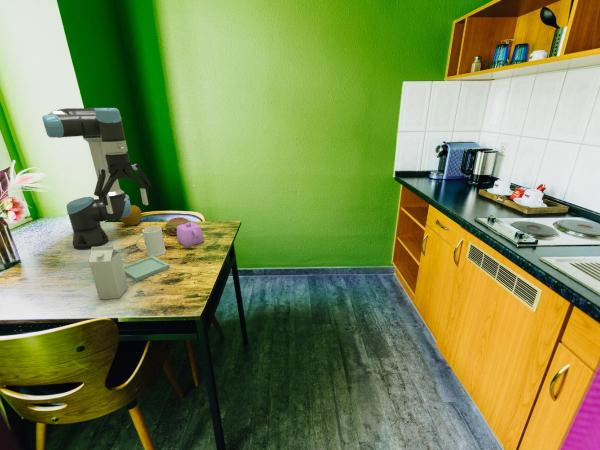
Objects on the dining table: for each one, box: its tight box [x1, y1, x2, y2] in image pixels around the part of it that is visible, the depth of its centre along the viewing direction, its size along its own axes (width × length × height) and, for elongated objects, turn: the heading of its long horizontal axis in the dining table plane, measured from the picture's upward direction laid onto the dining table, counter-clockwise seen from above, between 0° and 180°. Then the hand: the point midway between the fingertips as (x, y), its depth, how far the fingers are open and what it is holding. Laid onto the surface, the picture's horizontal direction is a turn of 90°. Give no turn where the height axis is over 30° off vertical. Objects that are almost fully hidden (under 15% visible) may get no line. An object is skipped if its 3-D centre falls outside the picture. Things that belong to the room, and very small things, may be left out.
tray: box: [123, 256, 171, 283], centre depth 128 cm, size 14×14×2 cm
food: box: [164, 216, 192, 236], centre depth 168 cm, size 14×14×8 cm
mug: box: [135, 225, 167, 257], centre depth 141 cm, size 12×8×12 cm
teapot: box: [176, 221, 204, 248], centre depth 155 cm, size 18×10×10 cm, turn 44°
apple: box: [118, 204, 142, 226], centre depth 180 cm, size 13×13×11 cm
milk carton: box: [88, 245, 129, 300], centre depth 109 cm, size 7×7×19 cm
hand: (128, 208), depth 119 cm, fingers open, 13 cm apart
